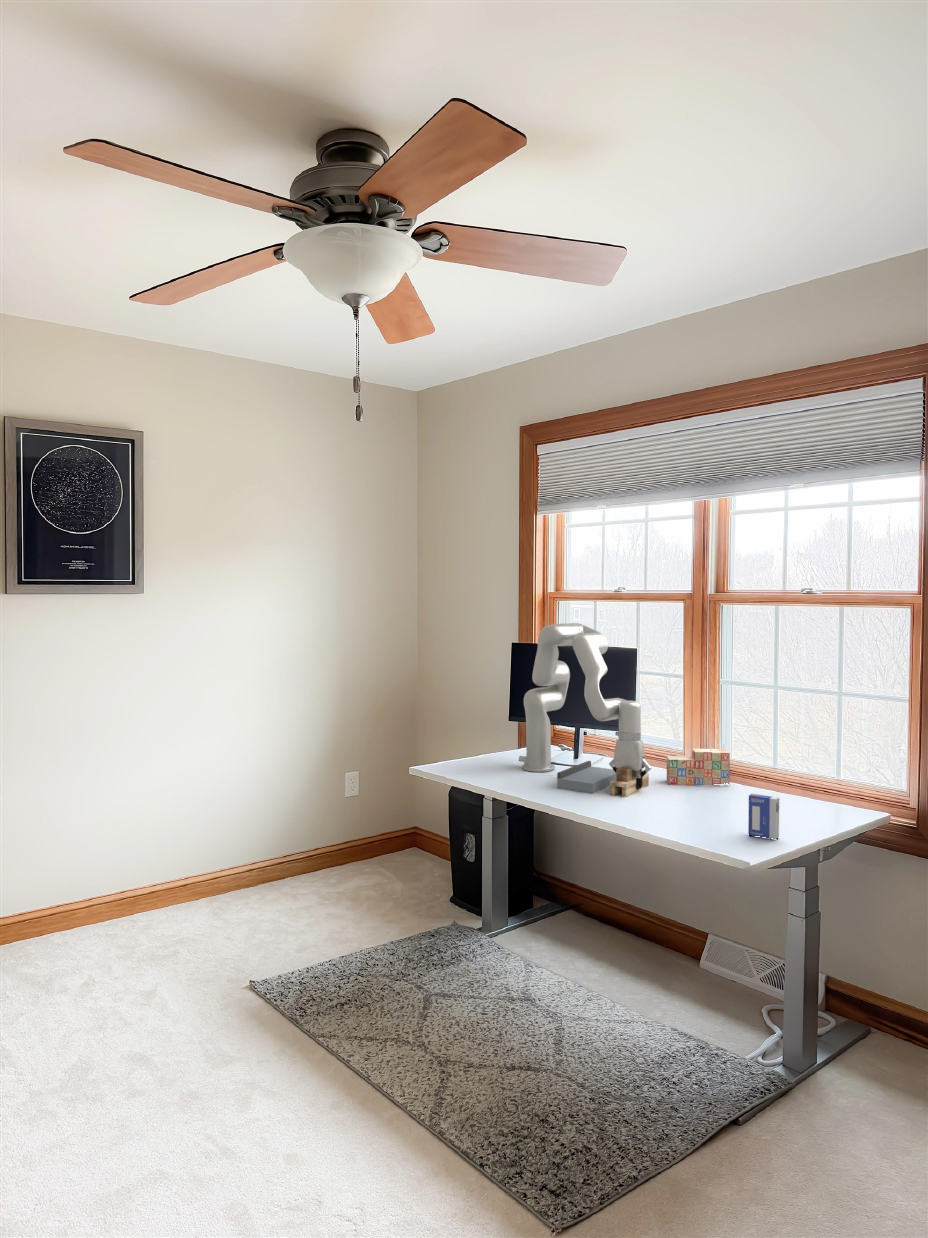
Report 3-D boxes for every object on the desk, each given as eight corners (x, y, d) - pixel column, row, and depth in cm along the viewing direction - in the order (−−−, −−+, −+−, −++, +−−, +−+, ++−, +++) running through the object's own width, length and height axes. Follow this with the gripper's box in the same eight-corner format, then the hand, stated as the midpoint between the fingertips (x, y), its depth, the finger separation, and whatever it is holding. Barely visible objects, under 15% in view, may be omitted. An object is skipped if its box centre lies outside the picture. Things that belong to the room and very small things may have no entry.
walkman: (748, 836, 237) (748, 794, 237) (751, 833, 240) (751, 792, 239) (776, 840, 233) (777, 798, 232) (779, 838, 235) (779, 796, 235)
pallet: (610, 794, 285) (610, 782, 285) (632, 783, 300) (632, 771, 300) (626, 797, 281) (626, 784, 281) (648, 785, 297) (648, 773, 297)
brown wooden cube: (616, 780, 287) (616, 769, 286) (621, 778, 290) (621, 767, 290) (627, 782, 284) (627, 770, 284) (632, 779, 287) (632, 768, 287)
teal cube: (627, 775, 294) (627, 764, 294) (632, 773, 297) (632, 762, 297) (637, 777, 292) (637, 765, 292) (642, 774, 295) (642, 763, 295)
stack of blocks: (668, 785, 298) (668, 751, 298) (666, 781, 304) (666, 747, 304) (729, 786, 295) (730, 752, 295) (726, 782, 301) (727, 749, 301)
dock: (557, 788, 294) (557, 772, 294) (588, 775, 314) (588, 760, 313) (593, 793, 286) (593, 778, 286) (622, 780, 306) (622, 765, 305)
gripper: (602, 735, 292) (602, 786, 293) (648, 740, 282) (649, 793, 283) (611, 732, 298) (611, 782, 299) (657, 737, 288) (657, 788, 289)
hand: (629, 787), depth 291 cm, fingers closed on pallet, 6 cm apart
